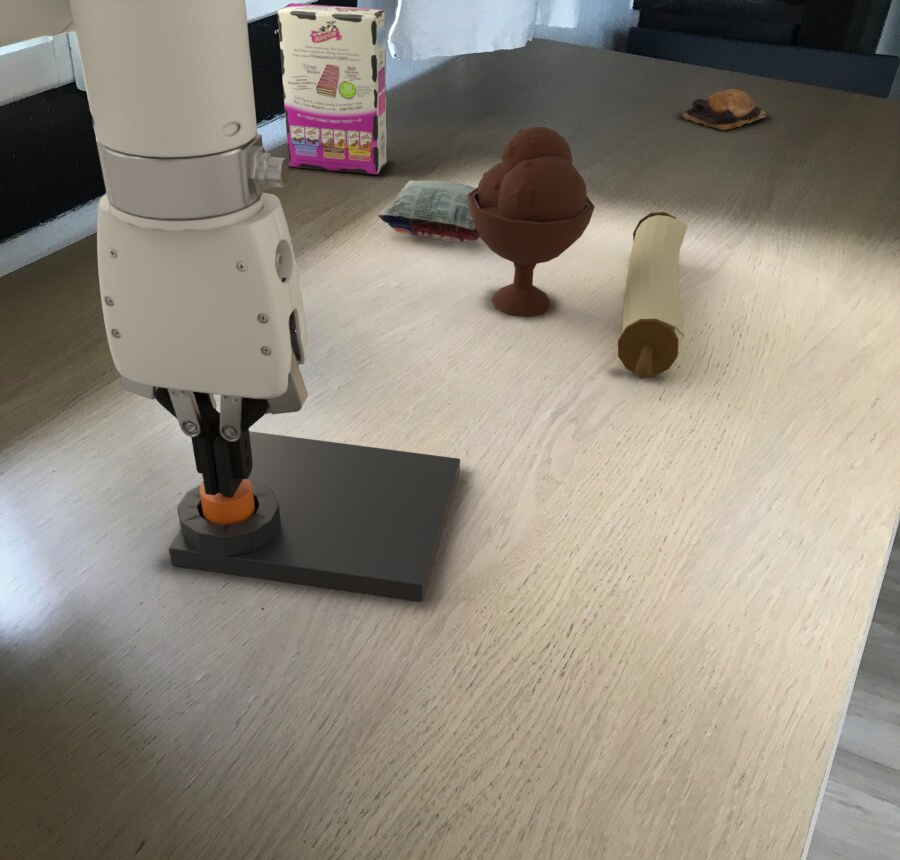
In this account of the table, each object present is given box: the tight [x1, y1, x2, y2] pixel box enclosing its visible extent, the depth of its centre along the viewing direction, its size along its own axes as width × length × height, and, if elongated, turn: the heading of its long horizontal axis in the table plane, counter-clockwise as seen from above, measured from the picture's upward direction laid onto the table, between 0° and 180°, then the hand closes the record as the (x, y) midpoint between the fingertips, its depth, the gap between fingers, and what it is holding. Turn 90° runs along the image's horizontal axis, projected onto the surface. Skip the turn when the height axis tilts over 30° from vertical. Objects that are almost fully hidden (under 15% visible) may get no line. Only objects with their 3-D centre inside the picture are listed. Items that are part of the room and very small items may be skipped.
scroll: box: [617, 211, 689, 380], centre depth 89 cm, size 32×6×5 cm, turn 168°
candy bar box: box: [277, 2, 388, 176], centre depth 112 cm, size 11×5×16 cm, turn 80°
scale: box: [168, 430, 461, 602], centre depth 65 cm, size 16×14×3 cm
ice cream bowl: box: [467, 126, 596, 317], centre depth 87 cm, size 11×11×15 cm
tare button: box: [199, 479, 255, 525], centre depth 61 cm, size 3×3×2 cm
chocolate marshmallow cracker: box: [681, 88, 766, 131], centre depth 138 cm, size 11×8×4 cm
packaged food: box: [377, 179, 481, 243], centre depth 102 cm, size 9×12×5 cm
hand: (227, 483), depth 60 cm, fingers closed
